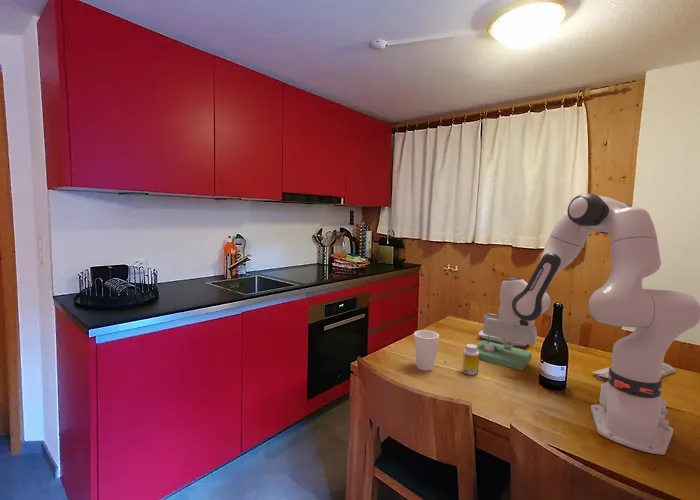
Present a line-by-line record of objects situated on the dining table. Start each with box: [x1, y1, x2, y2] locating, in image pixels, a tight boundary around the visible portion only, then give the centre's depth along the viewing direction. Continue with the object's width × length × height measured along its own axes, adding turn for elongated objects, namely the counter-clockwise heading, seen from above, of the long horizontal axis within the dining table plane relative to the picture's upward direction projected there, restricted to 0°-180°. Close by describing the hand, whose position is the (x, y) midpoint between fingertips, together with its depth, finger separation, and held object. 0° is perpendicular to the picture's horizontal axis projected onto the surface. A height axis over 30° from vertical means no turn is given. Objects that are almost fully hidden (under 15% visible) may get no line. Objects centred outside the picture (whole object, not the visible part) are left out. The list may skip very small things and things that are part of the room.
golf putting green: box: [475, 339, 532, 371], centre depth 146 cm, size 16×20×2 cm
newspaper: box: [591, 362, 676, 383], centre depth 133 cm, size 35×12×4 cm, turn 117°
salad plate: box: [478, 329, 528, 347], centre depth 168 cm, size 21×21×3 cm
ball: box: [484, 344, 494, 352], centre depth 149 cm, size 4×4×4 cm
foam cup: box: [413, 329, 440, 372], centre depth 135 cm, size 10×9×13 cm
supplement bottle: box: [462, 343, 480, 376], centre depth 132 cm, size 6×6×10 cm
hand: (507, 349), depth 145 cm, fingers closed
